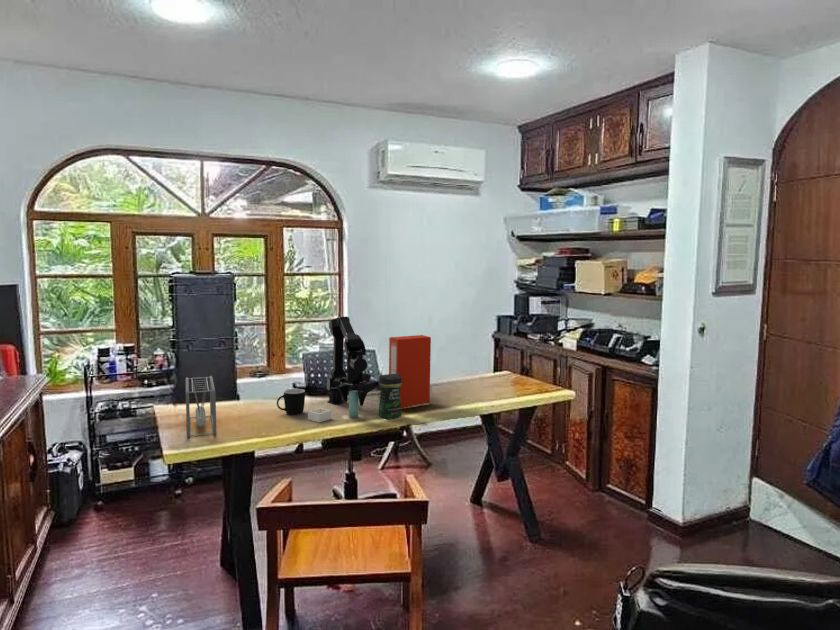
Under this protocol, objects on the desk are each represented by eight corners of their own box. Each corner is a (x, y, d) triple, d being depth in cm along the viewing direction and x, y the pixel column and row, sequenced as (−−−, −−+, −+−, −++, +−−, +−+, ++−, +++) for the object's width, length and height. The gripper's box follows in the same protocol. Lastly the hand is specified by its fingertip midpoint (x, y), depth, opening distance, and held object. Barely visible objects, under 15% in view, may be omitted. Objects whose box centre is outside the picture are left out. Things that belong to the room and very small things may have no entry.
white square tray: (320, 416, 250) (320, 407, 249) (331, 419, 245) (331, 410, 245) (308, 420, 244) (307, 411, 244) (319, 423, 240) (318, 413, 240)
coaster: (353, 413, 255) (353, 412, 255) (370, 418, 249) (370, 416, 249) (336, 418, 247) (336, 417, 247) (353, 423, 241) (353, 421, 241)
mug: (303, 410, 259) (303, 388, 258) (306, 415, 251) (306, 392, 250) (275, 412, 255) (275, 389, 254) (278, 418, 247) (277, 394, 246)
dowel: (346, 417, 248) (346, 391, 246) (353, 415, 251) (353, 390, 249) (353, 418, 245) (353, 393, 244) (360, 416, 248) (360, 391, 247)
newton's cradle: (186, 417, 246) (185, 376, 244) (213, 415, 250) (212, 374, 248) (187, 439, 219) (185, 392, 217) (216, 436, 222) (215, 390, 221)
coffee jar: (384, 420, 245) (384, 377, 243) (375, 416, 252) (376, 373, 250) (404, 417, 250) (404, 374, 248) (395, 413, 257) (395, 371, 255)
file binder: (429, 405, 270) (430, 337, 267) (397, 410, 261) (397, 339, 258) (420, 401, 277) (421, 334, 273) (388, 406, 268) (389, 337, 264)
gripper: (383, 367, 246) (382, 404, 248) (351, 362, 258) (351, 396, 259) (364, 371, 237) (364, 409, 239) (332, 365, 249) (333, 401, 251)
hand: (353, 403), depth 247 cm, fingers open, 9 cm apart
